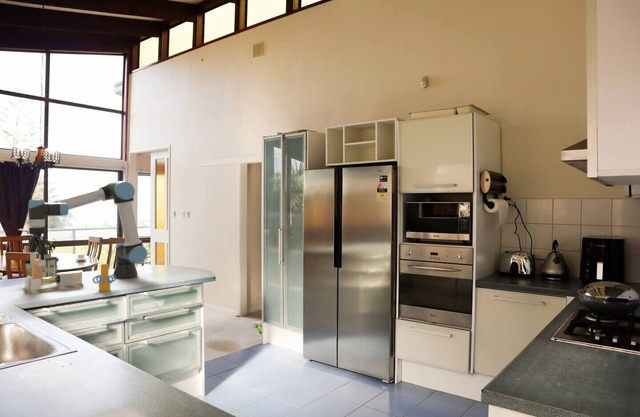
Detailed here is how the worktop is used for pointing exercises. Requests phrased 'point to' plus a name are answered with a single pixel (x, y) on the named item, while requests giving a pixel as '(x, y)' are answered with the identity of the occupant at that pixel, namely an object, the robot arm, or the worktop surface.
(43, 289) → the birch board
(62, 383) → the worktop surface
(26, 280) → the end socket
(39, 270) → the pink l-shaped block
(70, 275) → the pale grey block
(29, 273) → the olive storage canister
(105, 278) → the orange post with rings
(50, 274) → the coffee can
